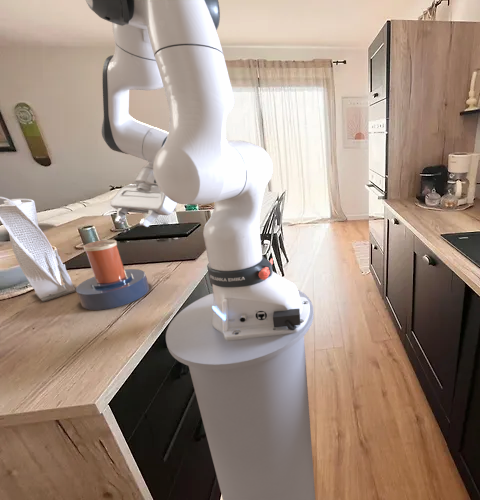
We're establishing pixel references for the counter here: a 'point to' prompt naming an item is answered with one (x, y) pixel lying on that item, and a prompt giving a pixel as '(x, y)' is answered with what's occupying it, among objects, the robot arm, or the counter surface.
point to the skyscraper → (34, 250)
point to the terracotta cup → (105, 261)
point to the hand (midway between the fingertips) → (130, 224)
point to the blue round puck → (113, 291)
